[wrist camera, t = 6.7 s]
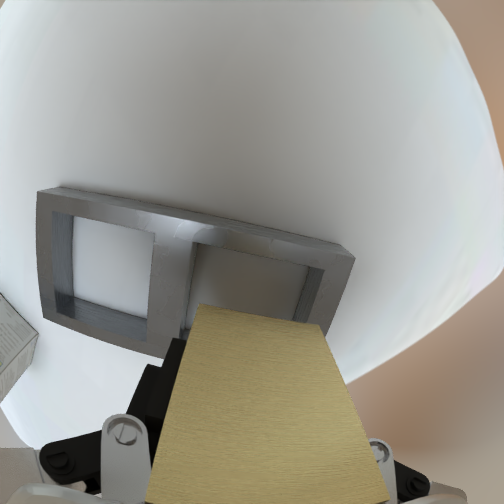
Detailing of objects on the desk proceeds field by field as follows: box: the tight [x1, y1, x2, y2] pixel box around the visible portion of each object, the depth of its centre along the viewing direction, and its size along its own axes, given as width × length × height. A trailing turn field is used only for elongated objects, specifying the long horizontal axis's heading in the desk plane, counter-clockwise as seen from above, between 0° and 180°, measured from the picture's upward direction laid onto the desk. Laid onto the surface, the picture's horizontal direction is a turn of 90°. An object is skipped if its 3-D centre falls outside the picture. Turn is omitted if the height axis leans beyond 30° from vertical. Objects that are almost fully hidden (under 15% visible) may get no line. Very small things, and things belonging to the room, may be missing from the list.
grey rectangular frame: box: [36, 187, 355, 359], centre depth 15 cm, size 9×19×2 cm, turn 77°
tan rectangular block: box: [145, 303, 391, 504], centre depth 8 cm, size 5×5×8 cm
